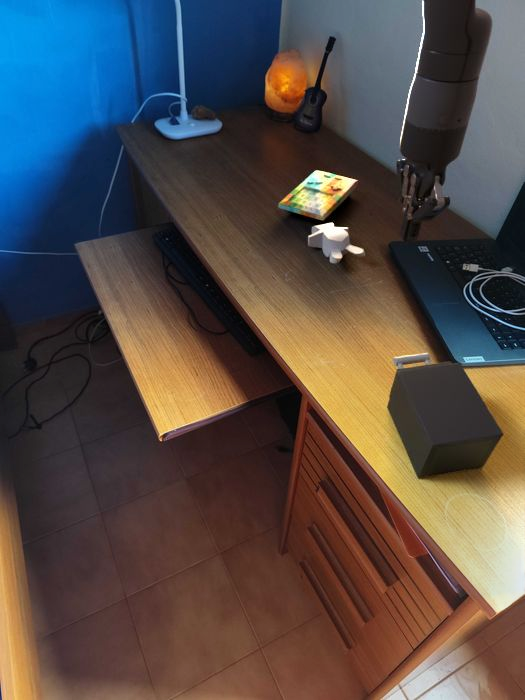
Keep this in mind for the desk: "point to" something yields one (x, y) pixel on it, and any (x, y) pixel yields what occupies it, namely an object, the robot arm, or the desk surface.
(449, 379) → the dark box
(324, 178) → the puzzle game
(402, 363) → the drawer
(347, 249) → the bunny figurine
